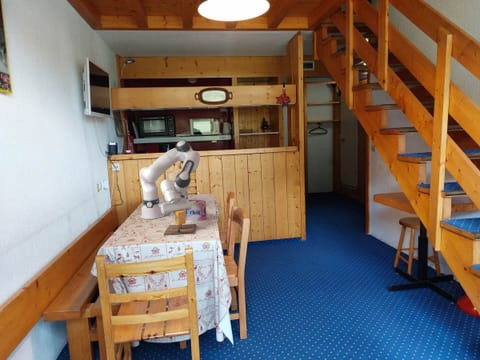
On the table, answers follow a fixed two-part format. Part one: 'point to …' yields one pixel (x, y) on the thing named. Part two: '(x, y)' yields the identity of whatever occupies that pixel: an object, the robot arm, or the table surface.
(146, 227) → the table surface
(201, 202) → the gum box
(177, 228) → the walnut post board
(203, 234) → the table surface
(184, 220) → the upright amber block
